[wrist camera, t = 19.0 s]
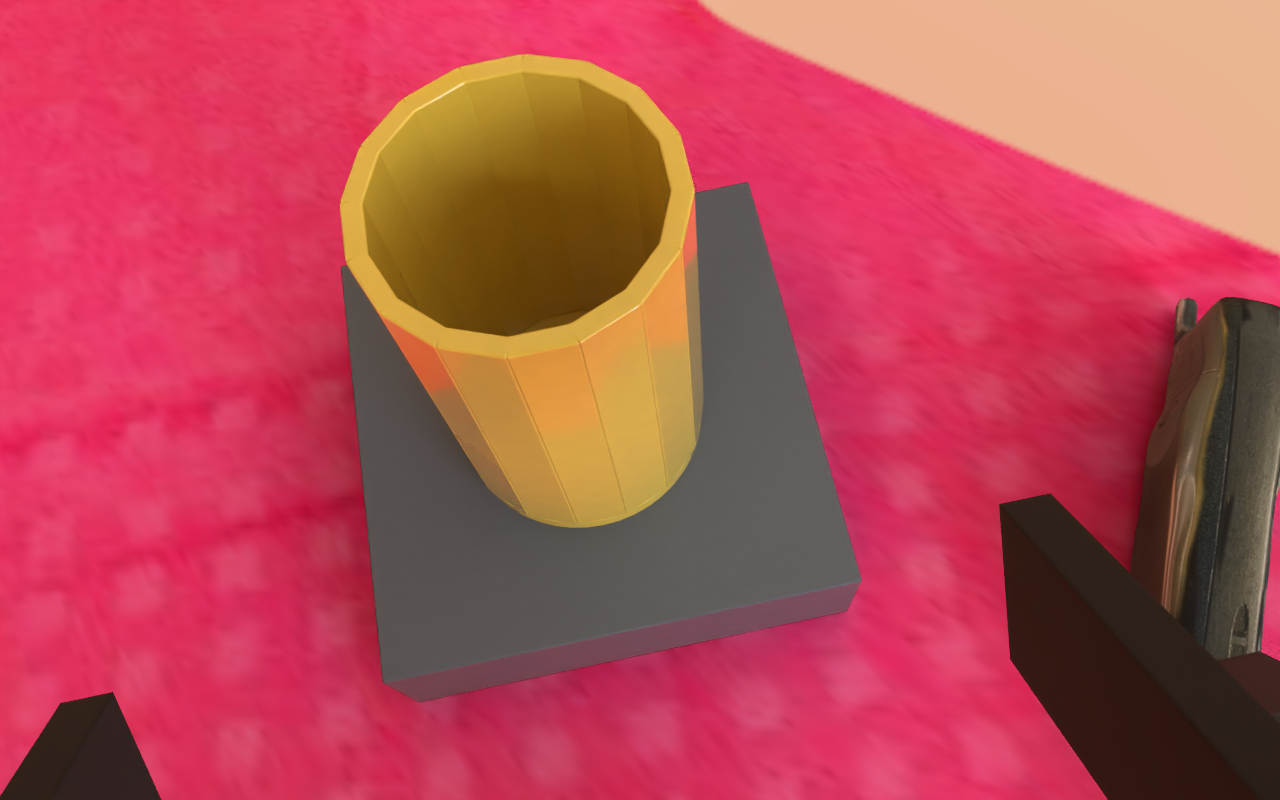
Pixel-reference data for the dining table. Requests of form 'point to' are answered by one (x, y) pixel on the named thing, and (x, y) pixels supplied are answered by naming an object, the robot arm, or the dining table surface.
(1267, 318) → the dark pencil case
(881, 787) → the dining table surface
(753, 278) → the grey block
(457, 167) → the yellow cup
